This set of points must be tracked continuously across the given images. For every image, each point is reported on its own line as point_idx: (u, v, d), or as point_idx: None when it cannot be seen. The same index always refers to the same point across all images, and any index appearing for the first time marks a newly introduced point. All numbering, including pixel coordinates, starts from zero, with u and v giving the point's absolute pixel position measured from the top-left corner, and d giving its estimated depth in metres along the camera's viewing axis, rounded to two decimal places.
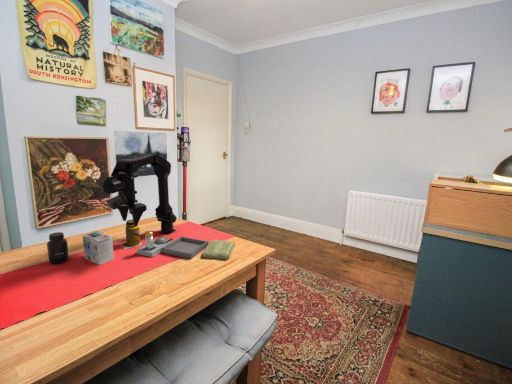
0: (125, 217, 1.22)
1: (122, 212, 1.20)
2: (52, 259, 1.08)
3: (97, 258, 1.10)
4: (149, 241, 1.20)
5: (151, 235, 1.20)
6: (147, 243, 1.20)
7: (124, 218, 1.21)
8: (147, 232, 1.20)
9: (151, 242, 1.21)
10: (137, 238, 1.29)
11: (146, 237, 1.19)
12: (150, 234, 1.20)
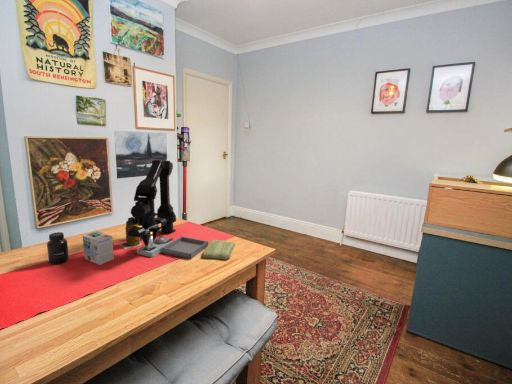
0: None
1: None
2: (52, 259, 1.08)
3: (97, 258, 1.10)
4: (149, 241, 1.20)
5: (151, 235, 1.20)
6: None
7: None
8: None
9: (151, 242, 1.21)
10: (137, 238, 1.29)
11: None
12: (150, 234, 1.20)
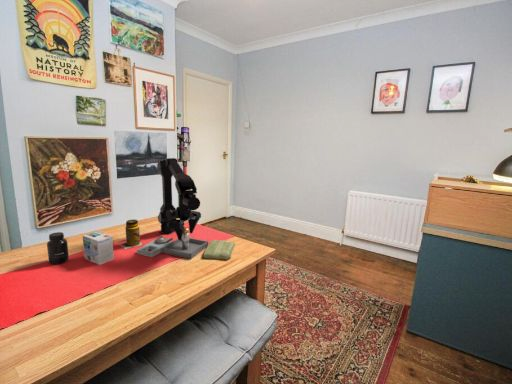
0: (191, 230, 1.30)
1: (190, 225, 1.30)
2: (52, 259, 1.08)
3: (97, 258, 1.10)
4: (186, 237, 1.24)
5: (187, 231, 1.24)
6: (184, 239, 1.24)
7: (190, 231, 1.30)
8: (184, 228, 1.24)
9: (187, 238, 1.25)
10: (137, 238, 1.29)
11: (183, 233, 1.24)
12: (187, 230, 1.24)
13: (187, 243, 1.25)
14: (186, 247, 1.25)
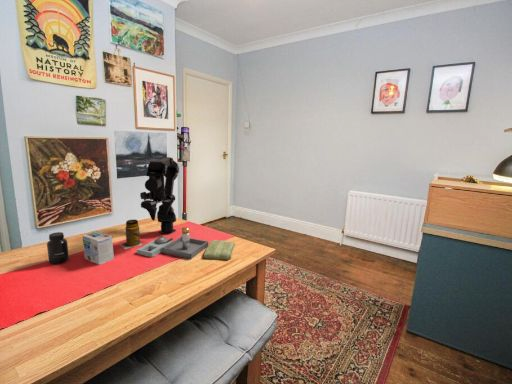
0: (165, 212, 1.36)
1: (164, 207, 1.36)
2: (52, 259, 1.08)
3: (97, 258, 1.10)
4: (186, 237, 1.24)
5: (188, 231, 1.25)
6: (184, 239, 1.24)
7: (165, 213, 1.37)
8: (184, 228, 1.24)
9: (188, 238, 1.25)
10: (137, 238, 1.29)
11: (183, 233, 1.24)
12: (187, 230, 1.24)
13: (187, 243, 1.25)
14: (186, 247, 1.26)
